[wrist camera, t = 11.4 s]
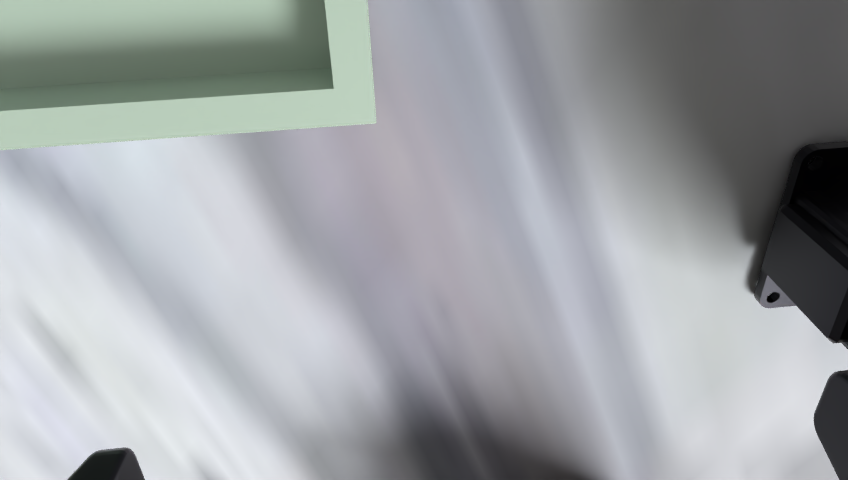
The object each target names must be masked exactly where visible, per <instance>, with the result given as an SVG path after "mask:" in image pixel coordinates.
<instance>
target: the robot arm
mask: <svg viewBox="0 0 848 480" xmlns="http://www.w3.org/2000/svg"><path fill="white" fill-rule="evenodd" d="M814 157H816V158H815V159H814V161H813V162H812V163H811V164H808V163H809V161H810V160H811V159H812V158H814ZM770 293H772V294H770ZM769 294H770V295H769ZM768 295H769V296H768ZM754 296H755V298H756V300H757V301H758V302H759V303H760V304H761V305H762V306H763V307H765V308H775V307H785V306H797V307H798V308H799V309H800V310H801V311H802V312H803V313H804V314H805V315H806V316H807V317H808V318H809V319H810V320H811V322H812V323H813V324H814V325H815V326H816V327H817V328H818V329H819V330H820V331H821V332H822V333H823V334H824V335H825V336H826V337H827V338H828V339H829V340H830V341H831V342H832V343H842V344H843V345H844V346H845V347H846V348H847V349H848V142H835V143H822V144H811V145H807V146H805V147H804V148H802V149H801V150H800V151H799V152H798V153H797V154H796V156H795V158H794V161H793V164H792V167H791V171H790V174H789V178H788V181H787V184H786V188H785V191H784V194H783V198H782V201H781V205H780V208H779V211H778V213H777V217H776V220H775V223H774V227H773V230H772V234H771V237H770V240H769V244H768V247H767V251H766V254H765V257H764V261H763V264H762V269H761V272H760V276H759V279H758V282H757V286H756V289H755V294H754ZM814 426H815V430H816V433H817V435H818V437H819V439H820V441H821V443H822V445H823V447H824V449H825V451H826V453H827V455H828V457H829V459H830V461H831V464H832V466H833V468H834V470H835V472H836V474H837V476H838V478H839V480H848V370H845V371H837V372H834V373H833V374H832V375H831V376H830V377H829V379H828V381H827V383H826V386H825V388H824V391H823V393H822V396H821V398H820V401H819V403H818V406H817V408H816V410H815V413H814ZM67 480H145V479H144V476H143V474H142V471H141V469H140V466H139V463H138V461H137V458H136V456H135V454H134V452H133V451H132V450H131V449H129V448H115V449H106V450H99V451H96V452H94V453H93V454H92V455H90V456H89V457H88V458H87V459H86V460H85V461H84V462H83V463H82V464H81V466H80V467H79V468H78V469H77V470H76V471H75V472H74V473H73V474H72V475H71V476H70V477H69V478H68V479H67Z"/></svg>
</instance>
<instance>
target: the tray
mask: <svg viewBox="0 0 848 480" xmlns="http://www.w3.org/2000/svg"><path fill="white" fill-rule="evenodd" d="M374 123H376V111H375V97H374V83H373V70H372V56H371V42H370V28H369V15H368V1H367V0H0V150H9V149H23V148H37V147H51V146H65V145H79V144H93V143H107V142H121V141H135V140H149V139H163V138H177V137H192V136H206V135H220V134H234V133H248V132H262V131H276V130H290V129H304V128H318V127H332V126H346V125H360V124H374Z"/></svg>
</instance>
